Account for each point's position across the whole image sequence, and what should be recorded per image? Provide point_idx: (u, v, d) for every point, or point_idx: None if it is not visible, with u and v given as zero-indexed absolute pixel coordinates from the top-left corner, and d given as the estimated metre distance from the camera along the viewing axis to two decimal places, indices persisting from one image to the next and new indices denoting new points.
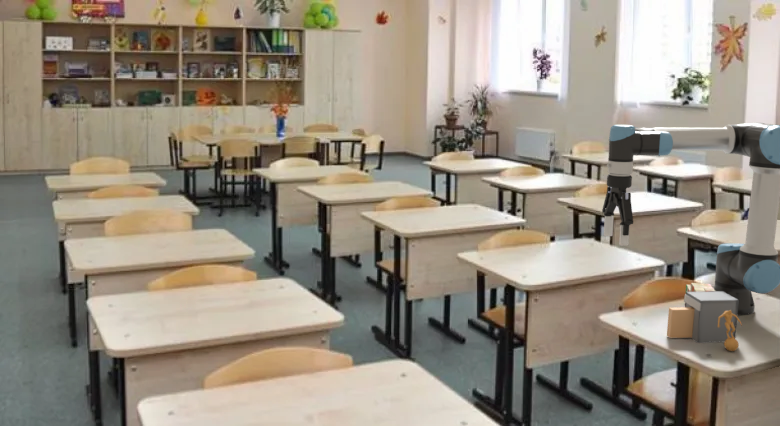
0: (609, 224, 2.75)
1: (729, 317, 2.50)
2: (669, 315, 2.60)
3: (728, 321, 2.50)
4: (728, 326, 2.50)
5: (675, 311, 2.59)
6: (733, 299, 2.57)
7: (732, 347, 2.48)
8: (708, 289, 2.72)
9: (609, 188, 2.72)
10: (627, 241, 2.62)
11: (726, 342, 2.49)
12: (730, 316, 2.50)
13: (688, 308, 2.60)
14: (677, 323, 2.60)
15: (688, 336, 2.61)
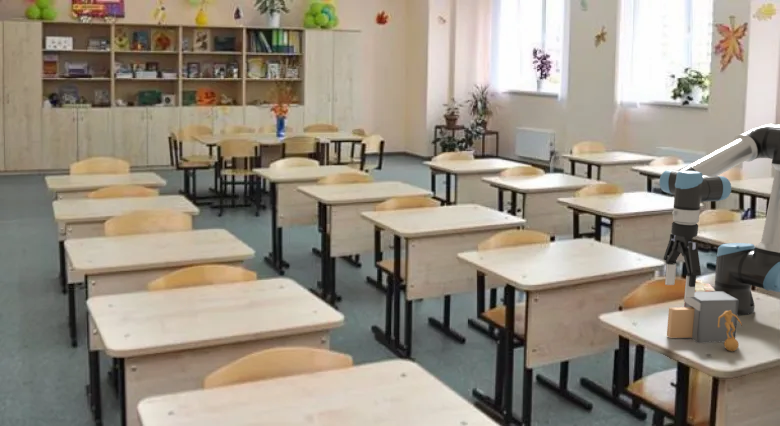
0: (671, 272, 2.64)
1: (729, 317, 2.50)
2: (669, 315, 2.60)
3: (728, 321, 2.50)
4: (728, 326, 2.50)
5: (675, 311, 2.59)
6: (733, 299, 2.57)
7: (732, 347, 2.48)
8: (708, 289, 2.72)
9: (672, 235, 2.61)
10: (693, 292, 2.52)
11: (726, 342, 2.49)
12: (730, 316, 2.50)
13: (688, 308, 2.60)
14: (677, 323, 2.60)
15: (688, 336, 2.61)
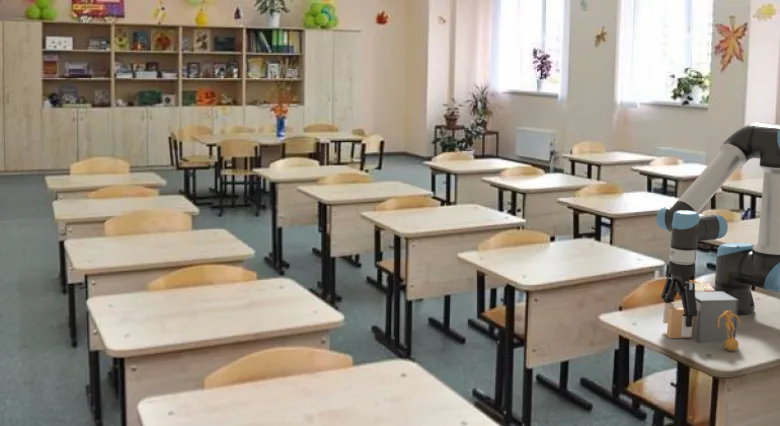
0: None
1: (729, 317, 2.50)
2: (669, 315, 2.60)
3: (728, 321, 2.50)
4: (728, 326, 2.50)
5: (675, 311, 2.59)
6: (733, 299, 2.57)
7: (732, 347, 2.48)
8: (708, 289, 2.72)
9: (670, 274, 2.64)
10: (690, 332, 2.54)
11: (726, 342, 2.49)
12: (730, 316, 2.50)
13: None
14: (677, 323, 2.60)
15: None
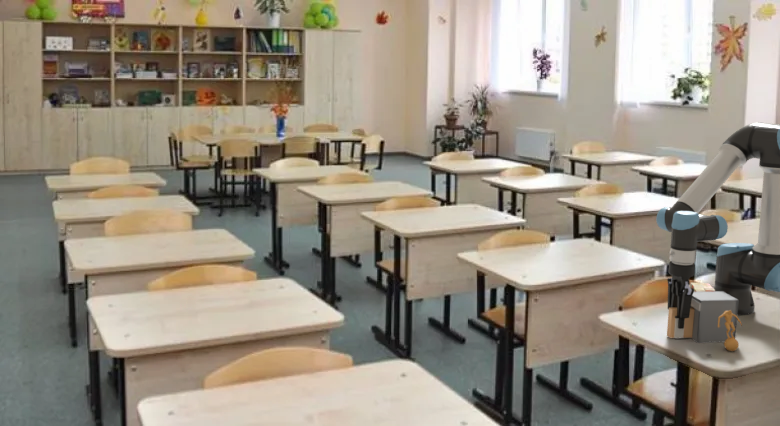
0: None
1: (729, 317, 2.50)
2: (669, 315, 2.60)
3: (728, 321, 2.50)
4: (728, 326, 2.50)
5: (675, 311, 2.59)
6: (733, 299, 2.57)
7: (732, 347, 2.48)
8: (708, 289, 2.72)
9: (669, 279, 2.64)
10: (682, 334, 2.60)
11: (726, 342, 2.49)
12: (730, 316, 2.50)
13: None
14: None
15: (688, 336, 2.61)
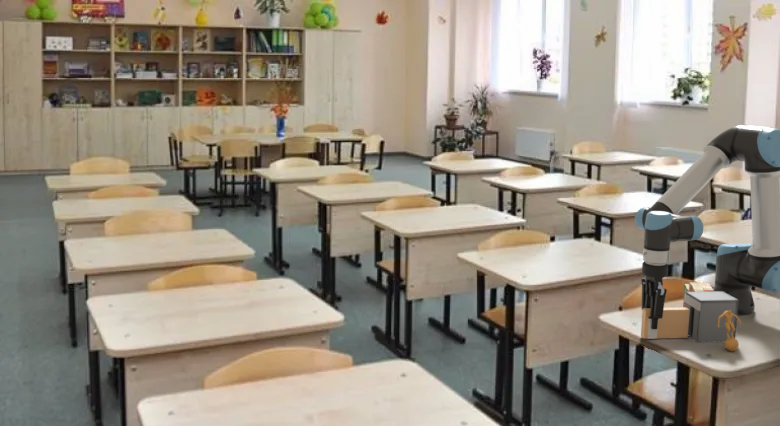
0: None
1: (729, 317, 2.50)
2: (643, 316, 2.60)
3: (728, 321, 2.50)
4: (728, 326, 2.50)
5: (648, 311, 2.58)
6: (733, 299, 2.57)
7: (732, 347, 2.48)
8: (707, 288, 2.72)
9: (643, 279, 2.63)
10: (655, 334, 2.59)
11: (726, 342, 2.49)
12: (730, 316, 2.50)
13: None
14: None
15: (662, 337, 2.60)
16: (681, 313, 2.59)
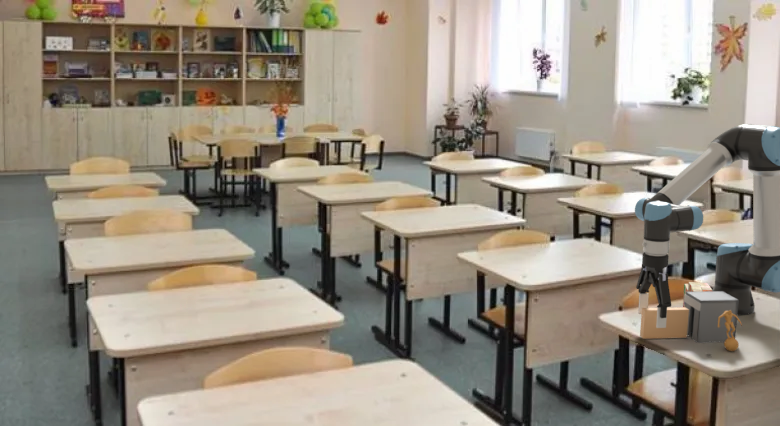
0: (644, 301, 2.65)
1: (729, 317, 2.50)
2: (642, 316, 2.60)
3: (728, 321, 2.50)
4: (728, 326, 2.50)
5: (648, 312, 2.58)
6: (733, 299, 2.57)
7: (732, 347, 2.48)
8: (705, 288, 2.73)
9: (644, 265, 2.62)
10: (664, 323, 2.53)
11: (726, 342, 2.49)
12: (730, 316, 2.50)
13: None
14: (650, 324, 2.59)
15: (661, 337, 2.60)
16: (680, 313, 2.59)
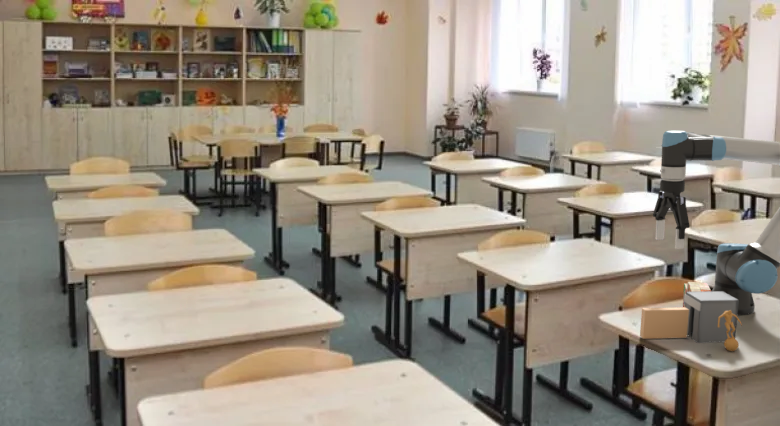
0: (661, 228, 2.80)
1: (729, 317, 2.50)
2: (642, 316, 2.60)
3: (728, 321, 2.50)
4: (728, 326, 2.50)
5: (648, 312, 2.58)
6: (733, 299, 2.57)
7: (732, 347, 2.48)
8: (704, 288, 2.73)
9: (661, 193, 2.77)
10: (683, 244, 2.68)
11: (726, 342, 2.49)
12: (730, 316, 2.50)
13: (661, 308, 2.60)
14: (650, 324, 2.59)
15: (661, 337, 2.60)
16: (680, 313, 2.59)
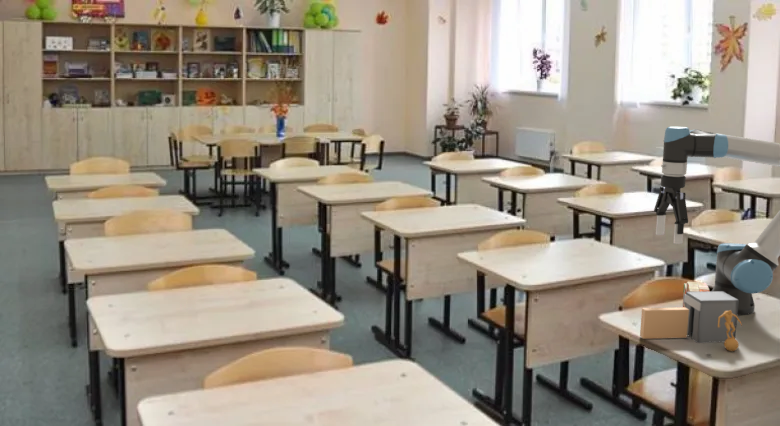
0: (661, 223, 2.82)
1: (729, 317, 2.50)
2: (642, 316, 2.60)
3: (728, 321, 2.50)
4: (728, 326, 2.50)
5: (648, 312, 2.58)
6: (733, 299, 2.57)
7: (732, 347, 2.48)
8: (702, 288, 2.73)
9: (662, 188, 2.79)
10: (681, 240, 2.70)
11: (726, 342, 2.49)
12: (730, 316, 2.50)
13: (661, 308, 2.60)
14: (650, 324, 2.59)
15: (661, 337, 2.60)
16: (680, 313, 2.59)
